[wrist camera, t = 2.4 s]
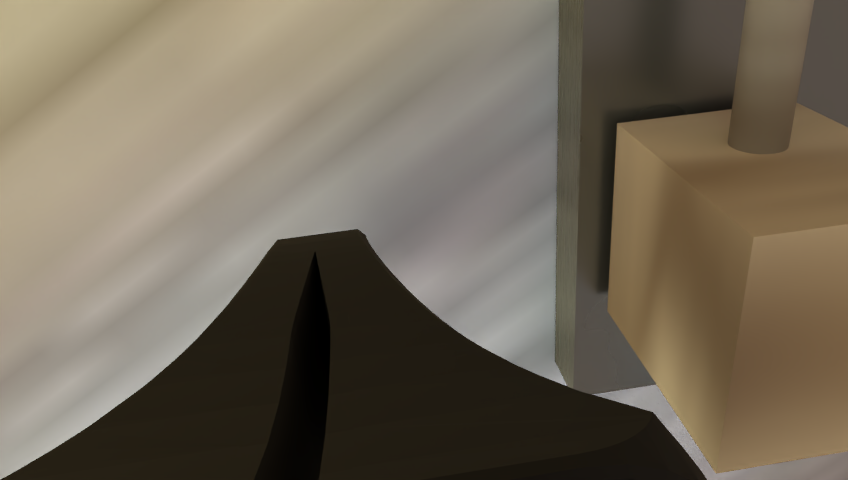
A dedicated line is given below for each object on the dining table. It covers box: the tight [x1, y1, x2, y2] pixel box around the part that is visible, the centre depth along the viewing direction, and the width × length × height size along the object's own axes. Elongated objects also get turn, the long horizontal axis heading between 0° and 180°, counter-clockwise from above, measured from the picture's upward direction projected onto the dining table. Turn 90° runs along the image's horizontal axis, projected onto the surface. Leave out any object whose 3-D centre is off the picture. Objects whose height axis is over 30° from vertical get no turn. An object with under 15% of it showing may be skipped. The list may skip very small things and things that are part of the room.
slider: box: [607, 0, 848, 473], centre depth 9 cm, size 10×3×4 cm, turn 5°
